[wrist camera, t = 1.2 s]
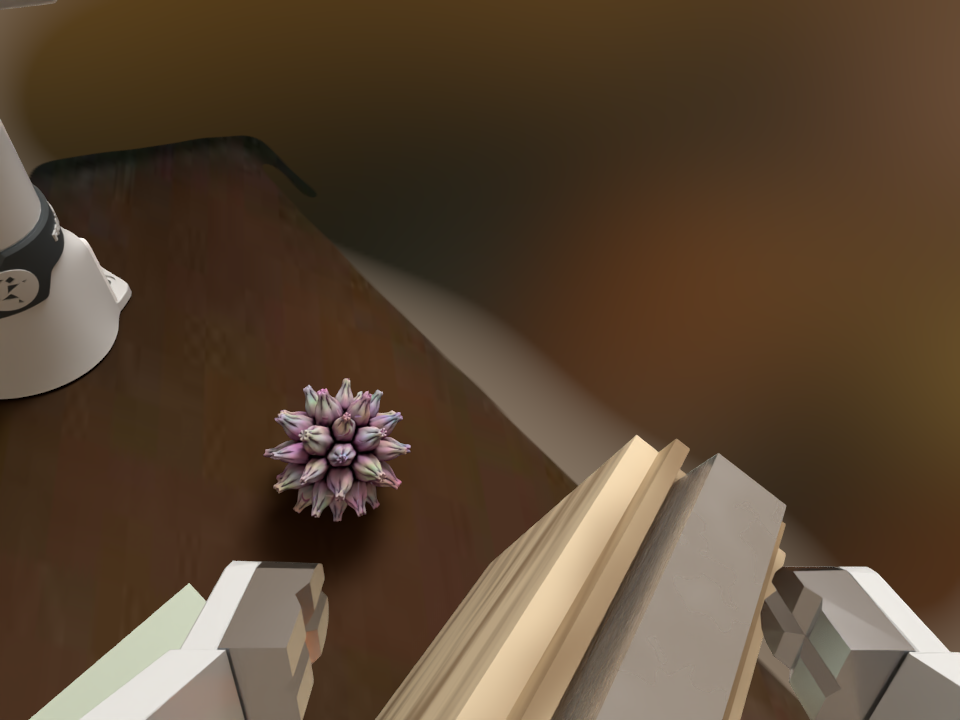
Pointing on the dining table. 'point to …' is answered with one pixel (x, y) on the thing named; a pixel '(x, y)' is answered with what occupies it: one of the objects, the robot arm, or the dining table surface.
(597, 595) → the oak stand
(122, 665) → the sage block
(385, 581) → the dining table surface
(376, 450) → the flower
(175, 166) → the dining table surface
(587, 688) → the steel bar
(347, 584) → the dining table surface
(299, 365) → the dining table surface
